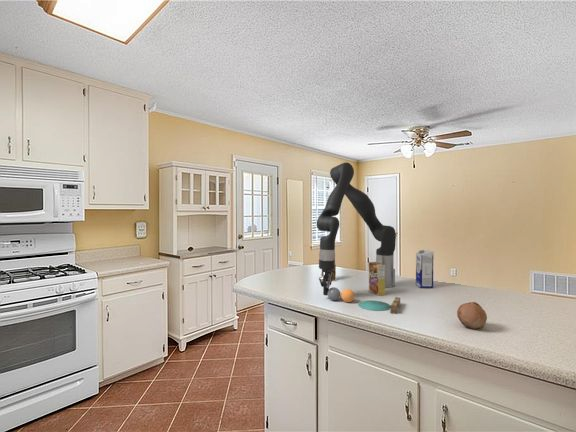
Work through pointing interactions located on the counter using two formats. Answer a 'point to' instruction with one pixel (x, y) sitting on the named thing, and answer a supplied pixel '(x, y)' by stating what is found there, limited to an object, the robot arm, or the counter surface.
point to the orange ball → (347, 295)
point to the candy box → (377, 278)
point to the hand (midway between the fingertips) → (325, 294)
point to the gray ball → (333, 293)
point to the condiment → (334, 274)
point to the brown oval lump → (472, 315)
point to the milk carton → (424, 268)
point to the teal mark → (374, 305)
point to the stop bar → (395, 305)
